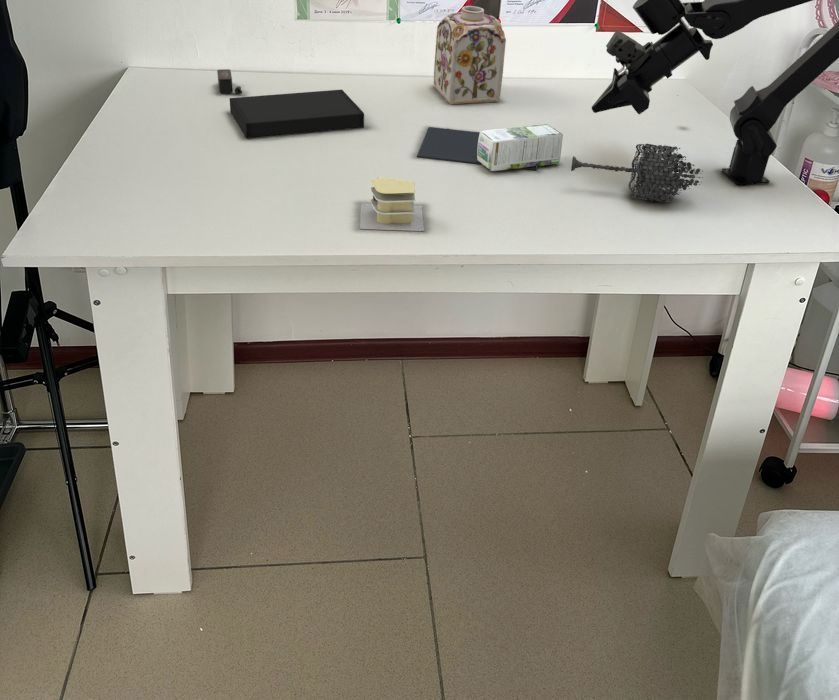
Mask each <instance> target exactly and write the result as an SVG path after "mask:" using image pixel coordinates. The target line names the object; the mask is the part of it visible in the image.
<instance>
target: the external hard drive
mask: <svg viewBox="0 0 839 700" xmlns="http://www.w3.org/2000/svg"><path fill="white" fill-rule="evenodd" d="M229 112H230V114H231V116H232V118H233V120H234V121H235V122H236V125H237V126H238V127H239V129H240V130H241V132H242V134H243V136H244V137H245V139H257V138H267V137H276V136H277V137H279V136H289V135H299V134H310V133H321V132H331V131H332V132H334V131H342V130H353V129H363V128H365V112H364V111H363V110H362V109H361V108H360V107H359V106H358V105H357V104H356V103H355V102H354V100H352V98H351V97H350V96H349V95H348V94H347V93H346V92H345V91H344V89H330V90H317V91H304V92H292V93H278V94H277V93H276V94H265V95H251V96H250V95H249V96H239V97H229Z"/></svg>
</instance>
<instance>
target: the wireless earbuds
mask: <svg viewBox="0 0 839 700" xmlns="http://www.w3.org/2000/svg"><path fill="white" fill-rule="evenodd" d="M216 73H217V86H218V92H219V94H221V95H230V94H233V91H234V93H235V94H236V95H241V94H243V90H242V87H241V86H240V85H237V86H236V87H235V88H234V87H233V77H232V70H231V69H229V68H227V69H225V68H224V69H223V68H221V69H217V70H216ZM233 88H234V89H233Z"/></svg>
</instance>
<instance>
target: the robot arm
mask: <svg viewBox="0 0 839 700" xmlns="http://www.w3.org/2000/svg"><path fill="white" fill-rule="evenodd" d="M813 1H814V0H703V1H691V2H690V1H689V2H687V1H686V2H682V1H681V0H636V1H635V2H634V4H633V5H632V9H633V10H634V12H635V13H636V14H637V16H638V17H639V19H640V20H641V21H642V22H643V24H644V25H645V27H646V28H647V29H648V31H649V32H650V33H651V34H652V35H655V34H658V35H659V36H660V35H661V38H659V39H658V40H657V41H655V42H654V43H653V41H648V42H646V43H645V44H643V45H642V44H641V43H639V42H638V41H637V40H635V39H633V37H630V36H629V35H627V34H625V33H624V32H622V31H620V30H618V29H616V30H615V31H614V33H613V35H612V36H611V38H610V39H609V41H608V42H607V43H606V45H605V47H606V53H607V54H609V56H611V57H615V62H616V63H617V64H620V65H621V66H622V67H621V68H620V69H617V68H616V67H614V68H613V73H612V79H611V82H610V84H608V86H607V87H606V88H605V90H604V91H603V92H602V93H601V94H600V95H599V97H598V98H597V100H596V101H595V102H594V103H593V104H592V105H591V111H592V112H593V113H594V114H597V113H601V112H605V111H609V110H613V109H619V108H623V107H629V106H631V107H632V109H633V110H634V111H635V112H636V113H637V115H639V116H640V115H642V113H644V112H645V111H647V110H648V109H649V107H650V102H651V100H650V94H649V93H650V92H652V91H653V86H654V85H656V84H657V83H659V82H660V81H661V80H662V79H664V77H665V78H666V79H670V78H671V77H672V76H673V71H674V70H676V69H677V68H678V67H680V66H682V64H684V63H686V61H688V60H689V59H691V58H692V57H693V56H695V55H696V54H697V53H700V54H701V56H702V57H703V59H705V60H706V61H709V60H710V59H711V58H710V57H711V50H712V48H713V46H714V43H713V41H712V40H721V39H724V38H726V37H729V36H730V35H733V34H734V33H737V32H738V31H741V30H742V29H744V28H745V27H747V26H748V25H749V24H750V23H752V22H754V21H755V20H758V19H759V18H762V17H766V16H769V15H772V14H775V13H777V12H781V11H785V10H787V9H790V8H794V7H797V6H799V5H803V4H806V3H810V2H813ZM683 18H684V19H683ZM684 20H685V21H686V22H685V21H684ZM686 23H687V24H688V25H689V26H690V27H691V28H690V27H689V26H688V25H687V24H686ZM700 30H701V31H702V33H703V34H704V35H705V36H706V37H708V38H710V39H705V38H704V36H703V35H702V33H701V32H700ZM711 39H712V40H711ZM838 60H839V19H838V20H837V22H836V23H835V24H834V25H833V26H832V27H831V28H830V29H829V30H828V31H826V32H825V33H824V34H823V35H822V36H821V37H820V38H819V39H817V40H816V41H815V43H813V44H812V45H811V46H810V47H809V48H808V49H807V50H806V51H805V52H804V53H802V54H801V55H800V56H799V57H798V58H797V59H796V60H795V61H794V62H793V63H791V65H790V66H788V67H787V68H786V69H785V70H784V71H783V72H782V73H780V74H779V76H778V77H777V78H775V80H773V81H772V82H771V83H770V84H768V85H767V86H765V87H763V88H761V89H759V90H756V88H755V87H754V86H753V85H751V86H750V87H749V88H748V89H747V90H746V91H745V92H744V93H743V95H742V96H741V97H739V98H737V99H735V100H733V103H734V106H732V108H731V110H730V111H729V122H730V125H731V128H732V131H733V134H734V136H735V138H736V141H735V146H734V147H733V151H732V156H731V159H730V163H729V167H726V168H725V167H724V168H721V173H722V174H723V175H725V176H726V177H727V178H728V179H730V180H731V181H732V182H733V183H734V184H736V185H737V186H749V185H750V186H751V185H768V184H770V180H769V179H768V178H766V176H765V173H766V169H767V166H768V162H769V159H770V156H772V155H773V153H774V152H775V150H776V149H777V147H778V146H777V142H776V141H775V139H774V136H773V133H772V132H771V129H772V128H773V127H774V126H775V125H776V123H777V121H778V119H779V118H780V117H781V114H782V112H783V111H784V109H785V107H786V106H787V105H788V104H789V103H791V101H793V100H794V99H795V98H796V97H797V96H798V95H799V94H800V93H802V91H804V90H805V89H806V88H807V87H808V86H809V85H811V84H812V83H813V82H814V81H815V80H816V79H817V78H818V77H819V76H821V74H822V73H824V72H825V71H826V70H828V69H829V67H831V65H833V64H834V63H835V62H836V61H838Z"/></svg>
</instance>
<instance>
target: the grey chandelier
mask: <svg viewBox="0 0 839 700" xmlns="http://www.w3.org/2000/svg"><path fill="white" fill-rule="evenodd" d="M635 149H636V151H635V153H634V156H633V159H632V161H631V167H625V166H620V167H619V166H613V165H610V164H606V165H602V164H596V163H588V162H582V161H580V160H578V159H577V157H576V156H574V155H573V156H572V161H571V167H570V172H573V171H575V170H576V169H579V168H591V169H599V170H600V169H601V170H607V171H615V172H619V171H620V172H625V173H630V177H631V179H630V180H629V183H628V189H629V191H630V192H631V193H630V195H628V197H629V198H634V199H638V200H645V201H646V200H647V201H649V200H650V201H656V202H662V203H663V202H670V201H671V202H673V201H674V197H676V196H680V195H681V193H682V190H683V191H687V189H688V190H690V189H691V188H690V187H692V185H693V186H694V187H697V186H698V185H699V186H701V183H703V181H700V180H698V179H696V180H695V178H699V179H701V178H702V179H704V177H703V176H702V177H701V176H696V175H699V174H700V175H702V173H704V170H701V169H700V168H699V167H698V168H696V167H695V164H692V162H690V161H687V156H686V155H682V154H681V153H679V152H678V151H679V150H681V147H678V146H675V145H674V146H671V145H665V144H664V145H662V144H658V145H656V144H651V143H645V144H644V143H637V144H636V145H635ZM692 166H693V167H692ZM687 178H688V179H687ZM672 197H673V198H672Z"/></svg>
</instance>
